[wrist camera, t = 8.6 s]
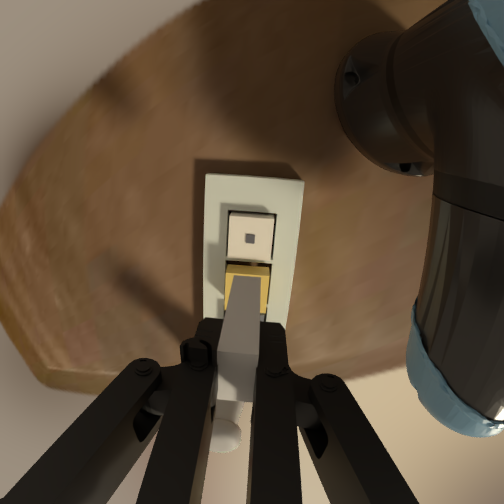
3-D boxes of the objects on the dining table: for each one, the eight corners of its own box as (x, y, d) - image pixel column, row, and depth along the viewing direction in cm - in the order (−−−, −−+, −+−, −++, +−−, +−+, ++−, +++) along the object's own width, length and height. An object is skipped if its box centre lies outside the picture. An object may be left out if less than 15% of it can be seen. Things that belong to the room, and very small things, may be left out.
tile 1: (231, 211, 28) (229, 216, 26) (273, 214, 28) (274, 219, 26) (229, 250, 29) (227, 258, 27) (269, 253, 29) (270, 261, 27)
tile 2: (228, 264, 29) (225, 273, 27) (269, 267, 29) (269, 276, 27) (226, 299, 30) (224, 310, 28) (265, 303, 30) (265, 313, 28)
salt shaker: (202, 370, 36) (183, 450, 24) (212, 339, 34) (192, 423, 22) (245, 381, 36) (238, 463, 24) (258, 351, 34) (256, 438, 22)
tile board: (208, 173, 27) (205, 174, 26) (302, 180, 27) (304, 181, 26) (205, 330, 34) (203, 337, 32) (282, 336, 34) (282, 344, 32)
